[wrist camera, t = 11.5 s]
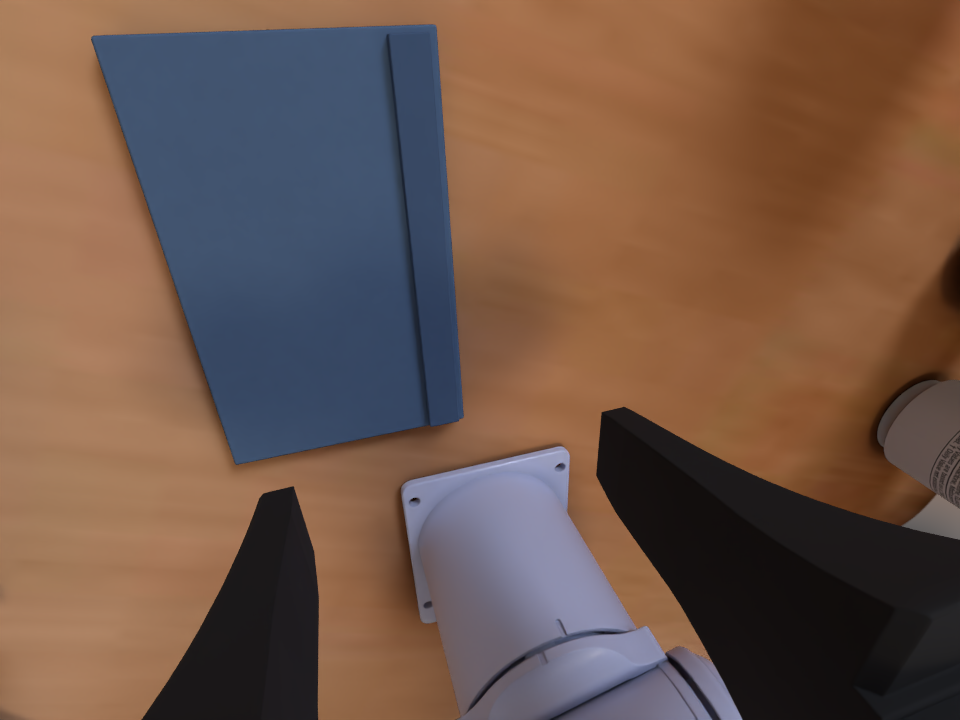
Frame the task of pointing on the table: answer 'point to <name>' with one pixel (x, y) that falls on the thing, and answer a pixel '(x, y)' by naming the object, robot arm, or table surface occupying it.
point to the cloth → (301, 223)
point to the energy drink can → (926, 436)
